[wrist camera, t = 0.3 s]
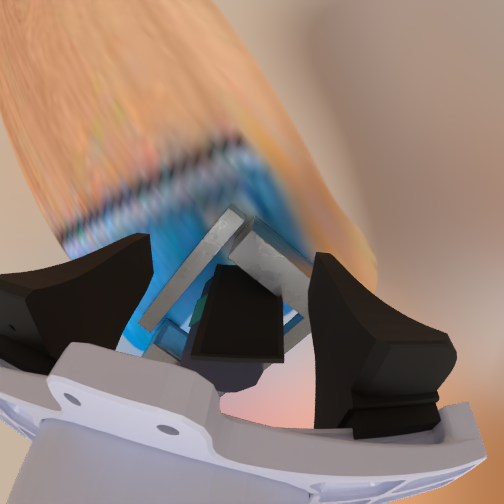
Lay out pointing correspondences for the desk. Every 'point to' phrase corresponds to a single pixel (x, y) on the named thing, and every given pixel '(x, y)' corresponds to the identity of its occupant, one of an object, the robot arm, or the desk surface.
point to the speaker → (234, 330)
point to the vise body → (254, 263)
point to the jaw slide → (168, 345)
